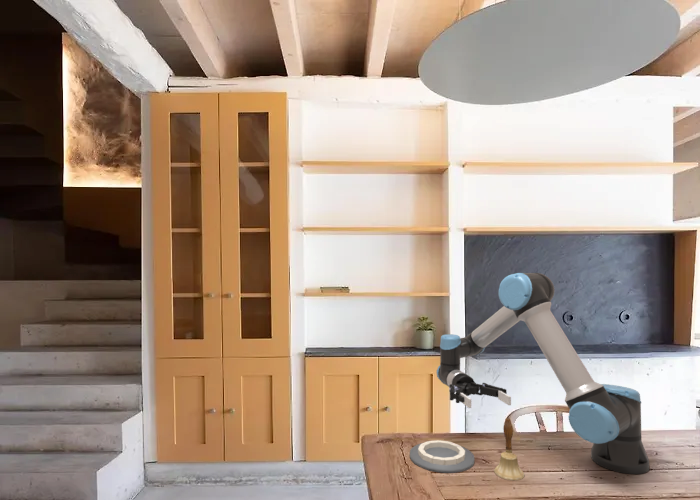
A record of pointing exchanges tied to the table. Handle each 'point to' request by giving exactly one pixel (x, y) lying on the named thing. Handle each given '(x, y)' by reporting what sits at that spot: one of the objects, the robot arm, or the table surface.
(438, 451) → the ring tray
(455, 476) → the table surface
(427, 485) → the table surface
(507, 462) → the hand bell
